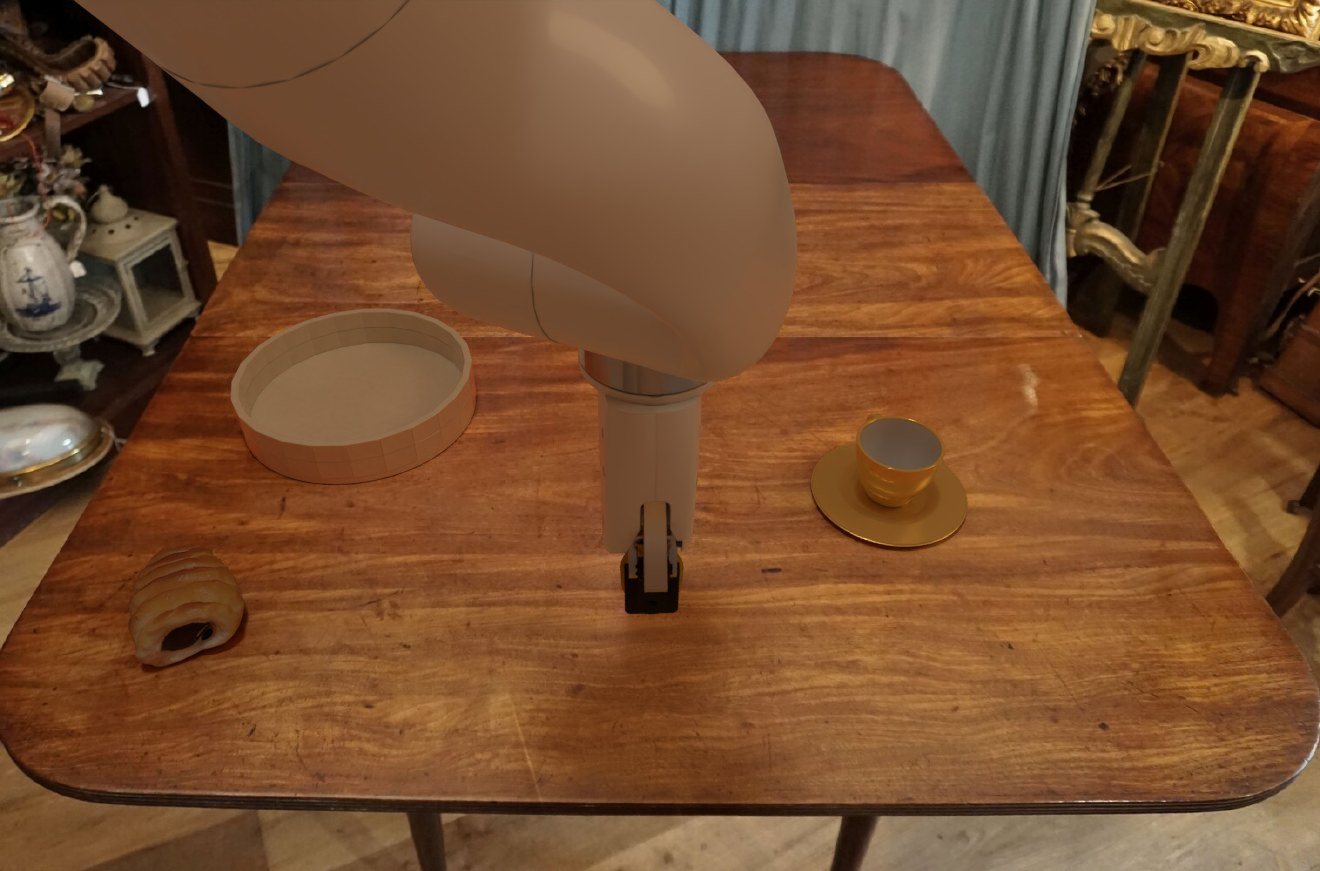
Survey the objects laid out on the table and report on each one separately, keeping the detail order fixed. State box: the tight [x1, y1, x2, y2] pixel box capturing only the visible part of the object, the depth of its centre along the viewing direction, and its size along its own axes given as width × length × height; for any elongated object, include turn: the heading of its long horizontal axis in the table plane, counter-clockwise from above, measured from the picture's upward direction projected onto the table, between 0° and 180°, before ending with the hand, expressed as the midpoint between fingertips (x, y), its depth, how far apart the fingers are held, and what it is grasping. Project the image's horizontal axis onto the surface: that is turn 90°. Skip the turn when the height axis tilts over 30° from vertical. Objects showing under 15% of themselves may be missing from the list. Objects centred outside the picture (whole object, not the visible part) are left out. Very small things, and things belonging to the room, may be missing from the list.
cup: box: [810, 413, 969, 548], centre depth 71 cm, size 12×12×5 cm
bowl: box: [230, 307, 477, 485], centre depth 79 cm, size 19×19×4 cm
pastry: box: [127, 542, 246, 668], centre depth 62 cm, size 9×7×4 cm
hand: (649, 578), depth 58 cm, fingers closed on chess piece, 4 cm apart
